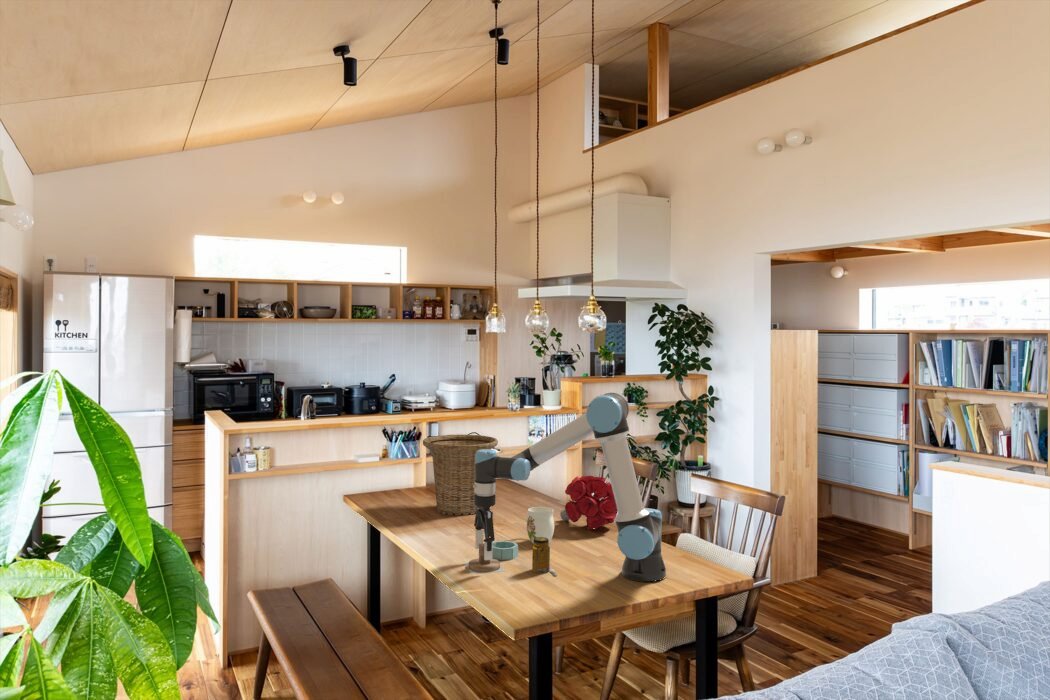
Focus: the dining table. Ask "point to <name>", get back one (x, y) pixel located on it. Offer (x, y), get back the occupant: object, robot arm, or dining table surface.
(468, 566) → the mat
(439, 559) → the dining table surface
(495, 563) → the lid
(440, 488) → the wicker basket
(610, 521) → the bouquet
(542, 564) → the condiment
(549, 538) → the pitcher
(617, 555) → the dining table surface
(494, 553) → the bowl
